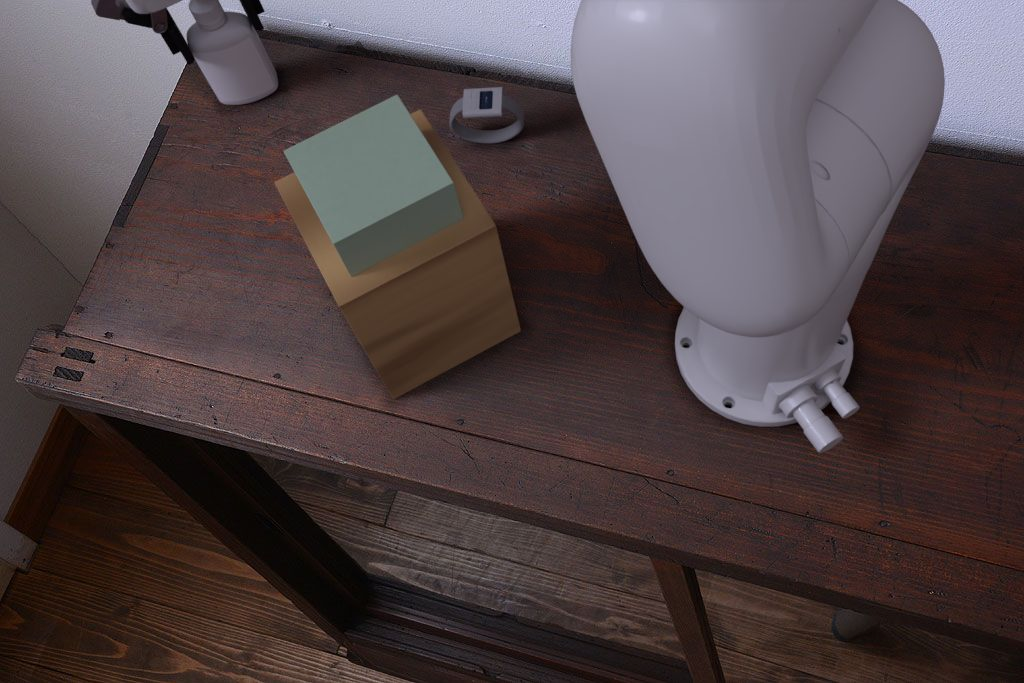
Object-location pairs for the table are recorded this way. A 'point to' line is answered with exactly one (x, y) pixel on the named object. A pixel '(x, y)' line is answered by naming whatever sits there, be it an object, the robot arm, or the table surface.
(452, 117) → the wristwatch
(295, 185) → the stand
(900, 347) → the table surface
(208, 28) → the eye dropper bottle
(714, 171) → the robot arm
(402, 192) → the block
